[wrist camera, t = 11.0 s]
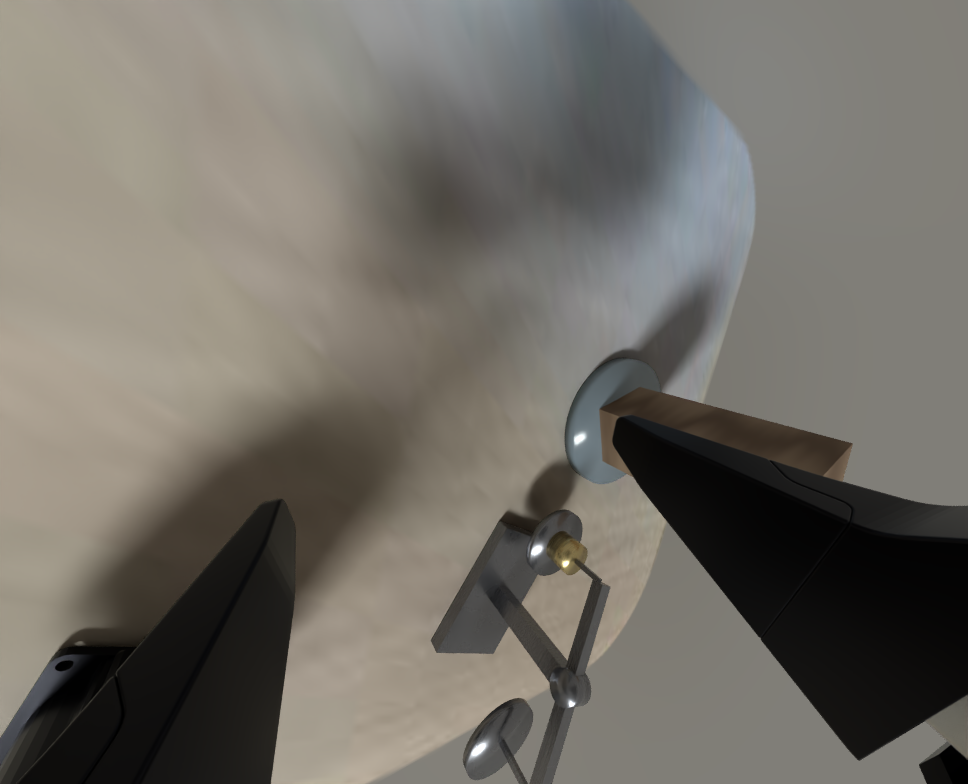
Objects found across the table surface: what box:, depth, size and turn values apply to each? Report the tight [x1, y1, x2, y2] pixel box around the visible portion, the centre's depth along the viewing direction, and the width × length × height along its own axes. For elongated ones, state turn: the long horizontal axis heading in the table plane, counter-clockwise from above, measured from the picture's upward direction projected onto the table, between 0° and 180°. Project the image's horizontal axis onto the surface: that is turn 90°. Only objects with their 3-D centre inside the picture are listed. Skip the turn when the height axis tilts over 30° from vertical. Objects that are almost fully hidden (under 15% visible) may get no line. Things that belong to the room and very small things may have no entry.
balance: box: [431, 510, 610, 784], centre depth 23 cm, size 17×6×10 cm, turn 143°
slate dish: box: [565, 358, 661, 484], centre depth 30 cm, size 11×11×1 cm
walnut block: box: [599, 387, 852, 481], centre depth 24 cm, size 5×5×13 cm
